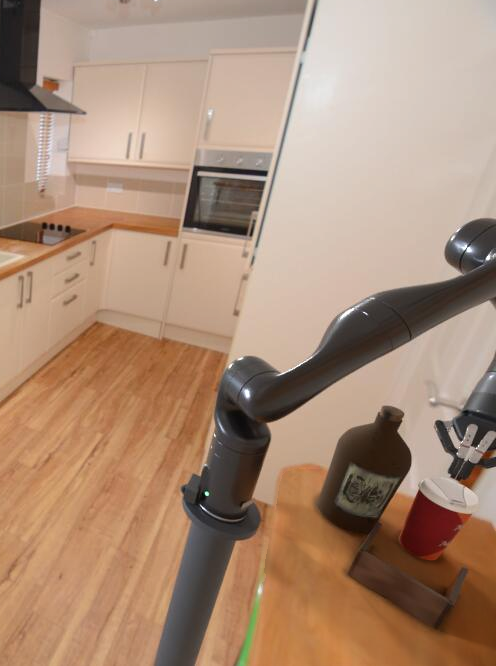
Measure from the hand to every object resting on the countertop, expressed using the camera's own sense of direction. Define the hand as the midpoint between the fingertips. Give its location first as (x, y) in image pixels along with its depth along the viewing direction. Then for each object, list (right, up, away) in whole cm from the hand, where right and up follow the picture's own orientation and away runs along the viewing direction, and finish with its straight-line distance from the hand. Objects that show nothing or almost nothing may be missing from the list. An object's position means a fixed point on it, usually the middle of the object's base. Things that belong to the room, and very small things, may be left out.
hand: (455, 478), depth 86 cm
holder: (-18, -15, -8) cm, 25 cm away
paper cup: (-9, -12, -2) cm, 15 cm away
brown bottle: (-17, -9, +5) cm, 20 cm away
